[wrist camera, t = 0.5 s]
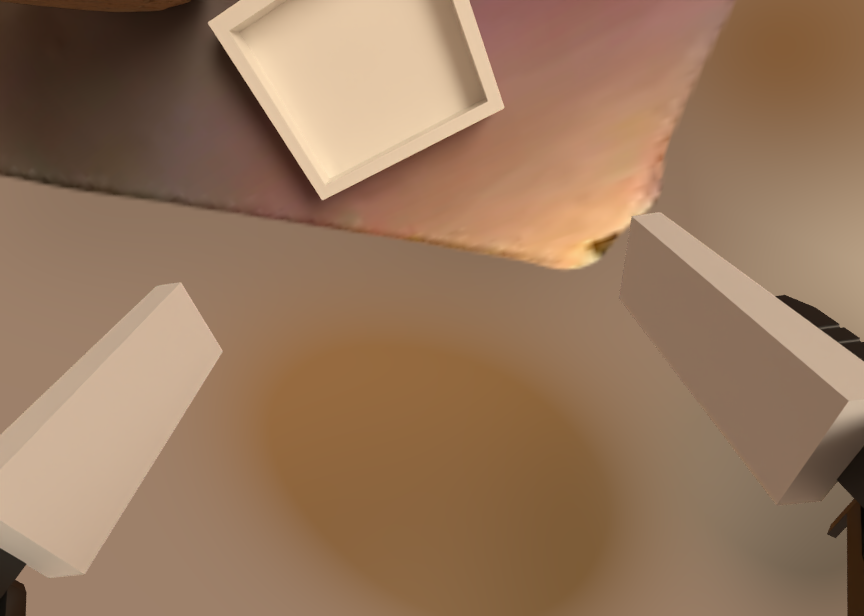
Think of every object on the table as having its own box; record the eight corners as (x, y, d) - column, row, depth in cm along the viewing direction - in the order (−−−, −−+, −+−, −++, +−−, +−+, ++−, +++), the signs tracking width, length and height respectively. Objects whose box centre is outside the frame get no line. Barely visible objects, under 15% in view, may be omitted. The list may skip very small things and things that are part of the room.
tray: (225, 24, 30) (207, 22, 27) (426, -111, 26) (427, -128, 23) (329, 190, 37) (322, 200, 34) (498, 103, 33) (504, 107, 31)
